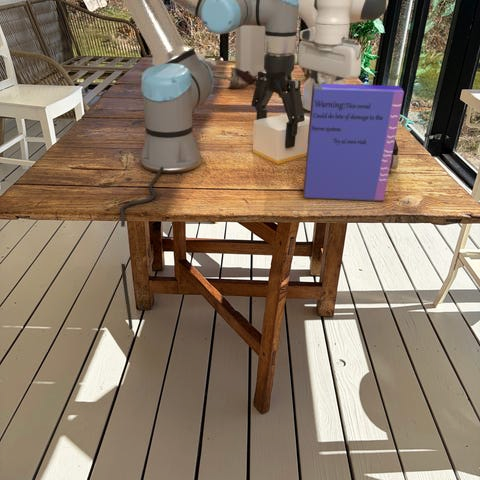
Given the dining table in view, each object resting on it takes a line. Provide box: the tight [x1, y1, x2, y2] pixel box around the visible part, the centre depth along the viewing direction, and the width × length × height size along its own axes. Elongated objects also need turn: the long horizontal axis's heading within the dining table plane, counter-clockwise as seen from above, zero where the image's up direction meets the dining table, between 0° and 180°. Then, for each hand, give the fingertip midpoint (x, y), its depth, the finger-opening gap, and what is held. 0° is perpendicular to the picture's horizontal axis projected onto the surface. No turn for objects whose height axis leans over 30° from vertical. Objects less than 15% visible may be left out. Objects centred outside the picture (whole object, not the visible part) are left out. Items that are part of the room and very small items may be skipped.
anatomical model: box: [301, 67, 309, 81], centre depth 205 cm, size 13×9×15 cm
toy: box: [151, 50, 218, 67], centre depth 224 cm, size 24×25×7 cm
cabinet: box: [252, 113, 310, 165], centre depth 129 cm, size 14×10×9 cm
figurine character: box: [388, 138, 399, 176], centre depth 121 cm, size 7×8×15 cm
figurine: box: [213, 66, 258, 89], centre depth 190 cm, size 24×8×30 cm
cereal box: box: [302, 83, 405, 202], centre depth 102 cm, size 17×5×24 cm, turn 86°
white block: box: [234, 25, 266, 77], centre depth 210 cm, size 19×15×28 cm
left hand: (275, 140), depth 127 cm, fingers open, 11 cm apart
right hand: (325, 89), depth 130 cm, fingers closed
